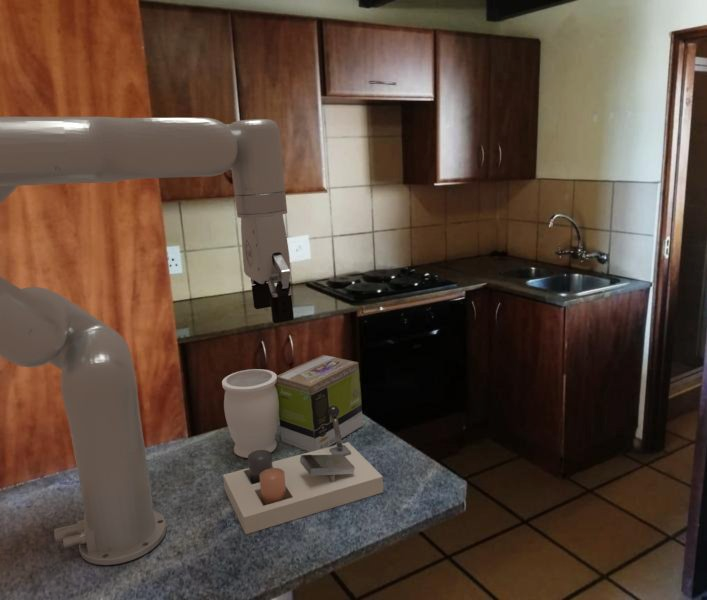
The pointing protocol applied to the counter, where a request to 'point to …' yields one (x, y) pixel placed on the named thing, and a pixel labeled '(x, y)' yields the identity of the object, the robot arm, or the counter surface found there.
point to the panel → (301, 490)
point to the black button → (259, 464)
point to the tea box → (318, 402)
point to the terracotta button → (272, 485)
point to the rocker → (327, 464)
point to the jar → (251, 410)
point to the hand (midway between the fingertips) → (273, 314)
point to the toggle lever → (335, 424)
